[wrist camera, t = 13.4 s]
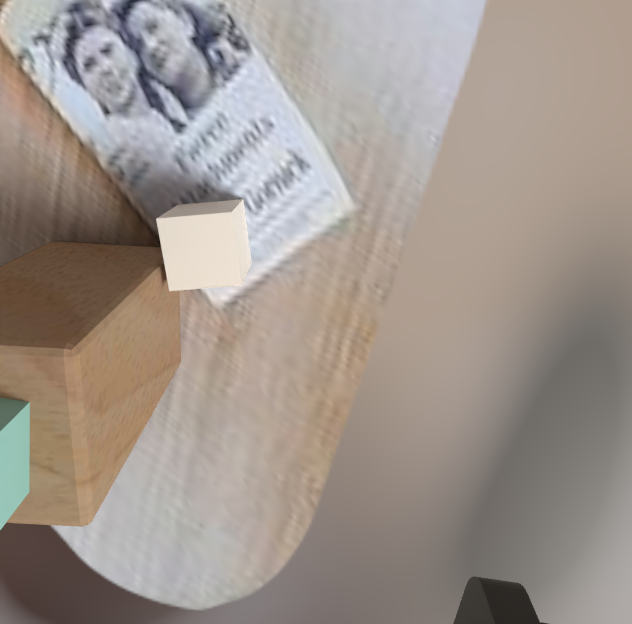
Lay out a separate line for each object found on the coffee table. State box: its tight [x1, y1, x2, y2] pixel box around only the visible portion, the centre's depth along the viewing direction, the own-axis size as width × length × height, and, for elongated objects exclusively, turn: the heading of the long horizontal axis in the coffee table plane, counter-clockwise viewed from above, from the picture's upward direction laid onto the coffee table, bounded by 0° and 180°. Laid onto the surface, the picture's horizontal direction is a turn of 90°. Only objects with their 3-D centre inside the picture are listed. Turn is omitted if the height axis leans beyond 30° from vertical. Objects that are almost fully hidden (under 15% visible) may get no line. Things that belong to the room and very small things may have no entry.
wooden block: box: [0, 241, 181, 526], centre depth 36 cm, size 10×10×20 cm
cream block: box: [156, 199, 252, 291], centre depth 41 cm, size 5×5×6 cm
